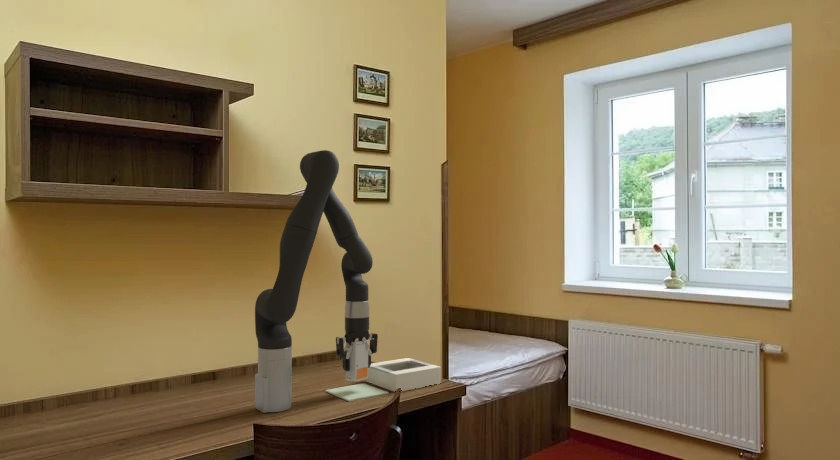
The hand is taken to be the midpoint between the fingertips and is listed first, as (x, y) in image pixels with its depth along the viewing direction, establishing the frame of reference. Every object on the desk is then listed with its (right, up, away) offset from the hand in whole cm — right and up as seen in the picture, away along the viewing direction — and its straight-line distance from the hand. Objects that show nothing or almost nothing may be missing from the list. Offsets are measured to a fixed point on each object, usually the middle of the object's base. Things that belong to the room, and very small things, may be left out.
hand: (357, 369), depth 184 cm
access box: (+14, -7, +13) cm, 20 cm away
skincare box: (0, -3, 0) cm, 3 cm away
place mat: (0, -7, 0) cm, 7 cm away
